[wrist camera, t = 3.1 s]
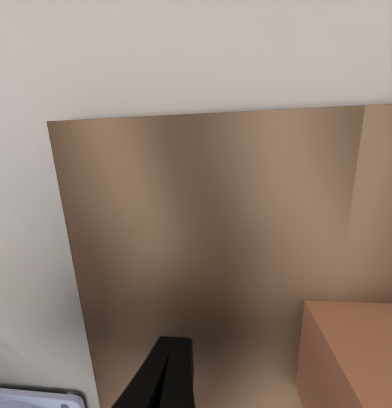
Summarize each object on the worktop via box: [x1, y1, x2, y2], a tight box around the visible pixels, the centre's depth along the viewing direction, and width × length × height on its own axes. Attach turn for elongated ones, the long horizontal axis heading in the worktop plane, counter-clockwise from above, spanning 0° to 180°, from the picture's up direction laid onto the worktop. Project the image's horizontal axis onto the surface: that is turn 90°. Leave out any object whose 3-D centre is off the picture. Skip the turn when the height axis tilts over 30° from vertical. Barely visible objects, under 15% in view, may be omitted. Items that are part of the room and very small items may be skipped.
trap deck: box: [47, 104, 392, 408], centre depth 10 cm, size 25×19×2 cm
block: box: [296, 300, 392, 408], centre depth 7 cm, size 4×4×4 cm
